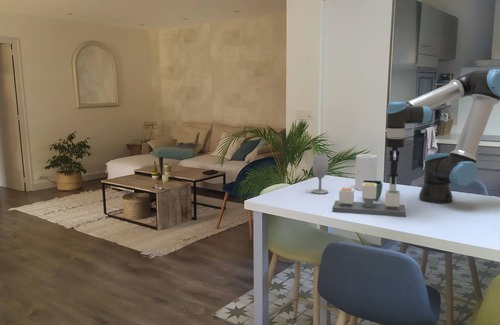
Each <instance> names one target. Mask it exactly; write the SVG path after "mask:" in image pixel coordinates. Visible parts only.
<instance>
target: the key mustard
mask: <svg viewBox="0 0 500 325" xmlns="http://www.w3.org/2000/svg"><path fill="white" fill-rule="evenodd" d="M376 188H377V183H367V182H365V183H363V185H362V190H361V199H365V198H369V199H376Z"/></svg>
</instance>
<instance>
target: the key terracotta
mask: <svg viewBox="0 0 500 325" xmlns="http://www.w3.org/2000/svg"><path fill="white" fill-rule="evenodd" d="M354 191H355V189H354V188H352V187H340V188H339V192H338V193H339V194H338V201H339V203H346V204H353V202H354V195H355V194H354V193H355V192H354Z"/></svg>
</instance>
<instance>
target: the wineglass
mask: <svg viewBox="0 0 500 325" xmlns="http://www.w3.org/2000/svg"><path fill="white" fill-rule="evenodd" d="M312 161H313V162H312V173H313V175H314V176H315V177H316V178H317V179H318V188H316V189H312V191H311V193H313V194H316V195H325V194H328V193H329V190H328V189H324V188H322V179H323V178H324V177H326V176H327V174H328V170H329V162H328V156H327V153H326V152H315V153H314V156H313V160H312Z"/></svg>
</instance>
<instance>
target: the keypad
mask: <svg viewBox="0 0 500 325" xmlns="http://www.w3.org/2000/svg"><path fill="white" fill-rule="evenodd" d="M331 212H332V213H343V214H346V213H347V214H355V215H357V214H360V215H370V216H372V215H373V216H387V217H397V218H398V217H400V218H401V217H402V218H406V217H407V211H406V206H405V204H400V207H393V206H385V202H384V203H382V202H374V201H373V199H369V198H364V201H353V204H346V203H339V200H334V204H333V205H332V211H331Z"/></svg>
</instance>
